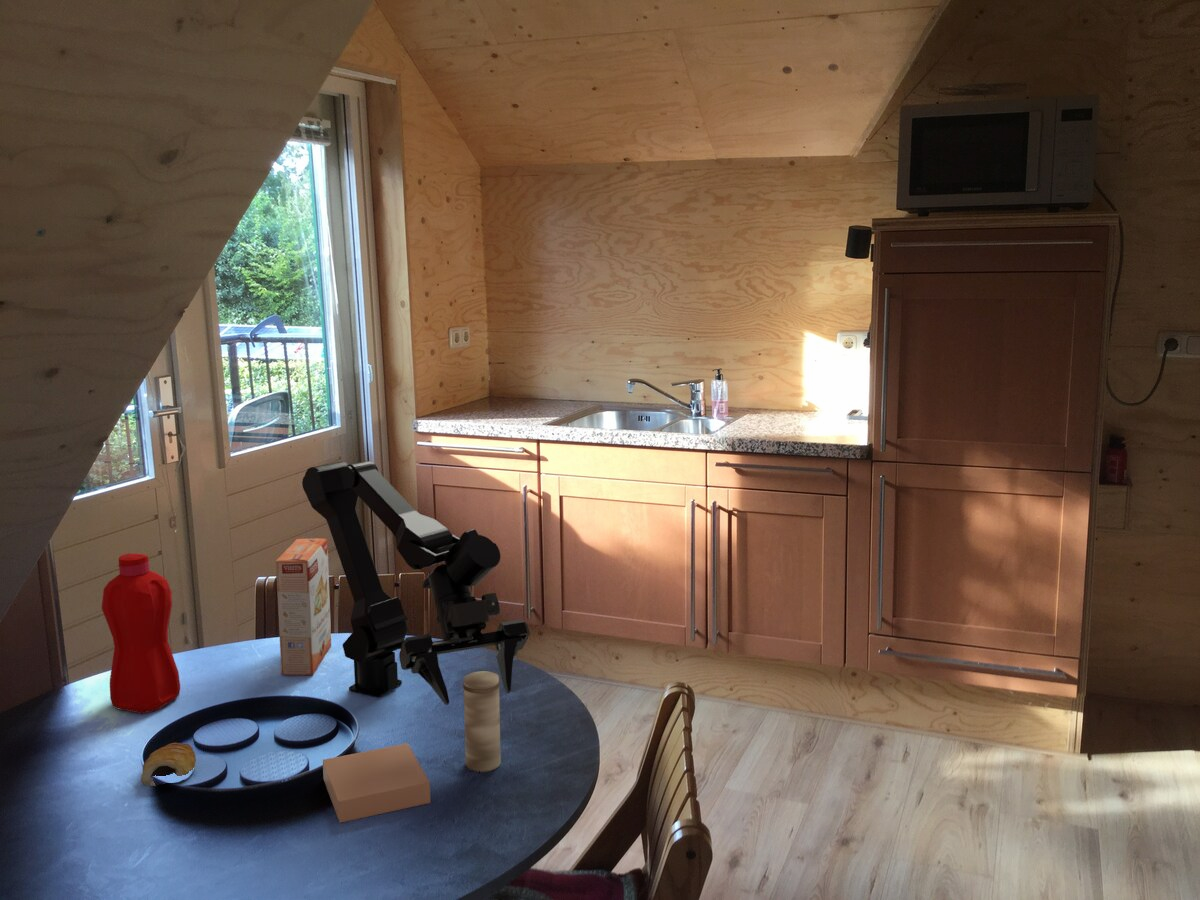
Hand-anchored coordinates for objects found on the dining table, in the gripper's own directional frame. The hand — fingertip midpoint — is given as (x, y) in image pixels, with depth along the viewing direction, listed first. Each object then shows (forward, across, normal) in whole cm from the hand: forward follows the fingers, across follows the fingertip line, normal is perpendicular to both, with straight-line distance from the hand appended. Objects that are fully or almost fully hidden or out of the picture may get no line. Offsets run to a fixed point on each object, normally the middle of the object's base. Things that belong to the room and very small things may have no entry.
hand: (478, 698), depth 150 cm
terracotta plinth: (+9, -16, +4) cm, 19 cm away
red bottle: (-22, -43, +35) cm, 60 cm away
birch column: (+8, 0, +5) cm, 9 cm away
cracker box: (-26, -17, +39) cm, 50 cm away
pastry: (-3, -41, +17) cm, 45 cm away
